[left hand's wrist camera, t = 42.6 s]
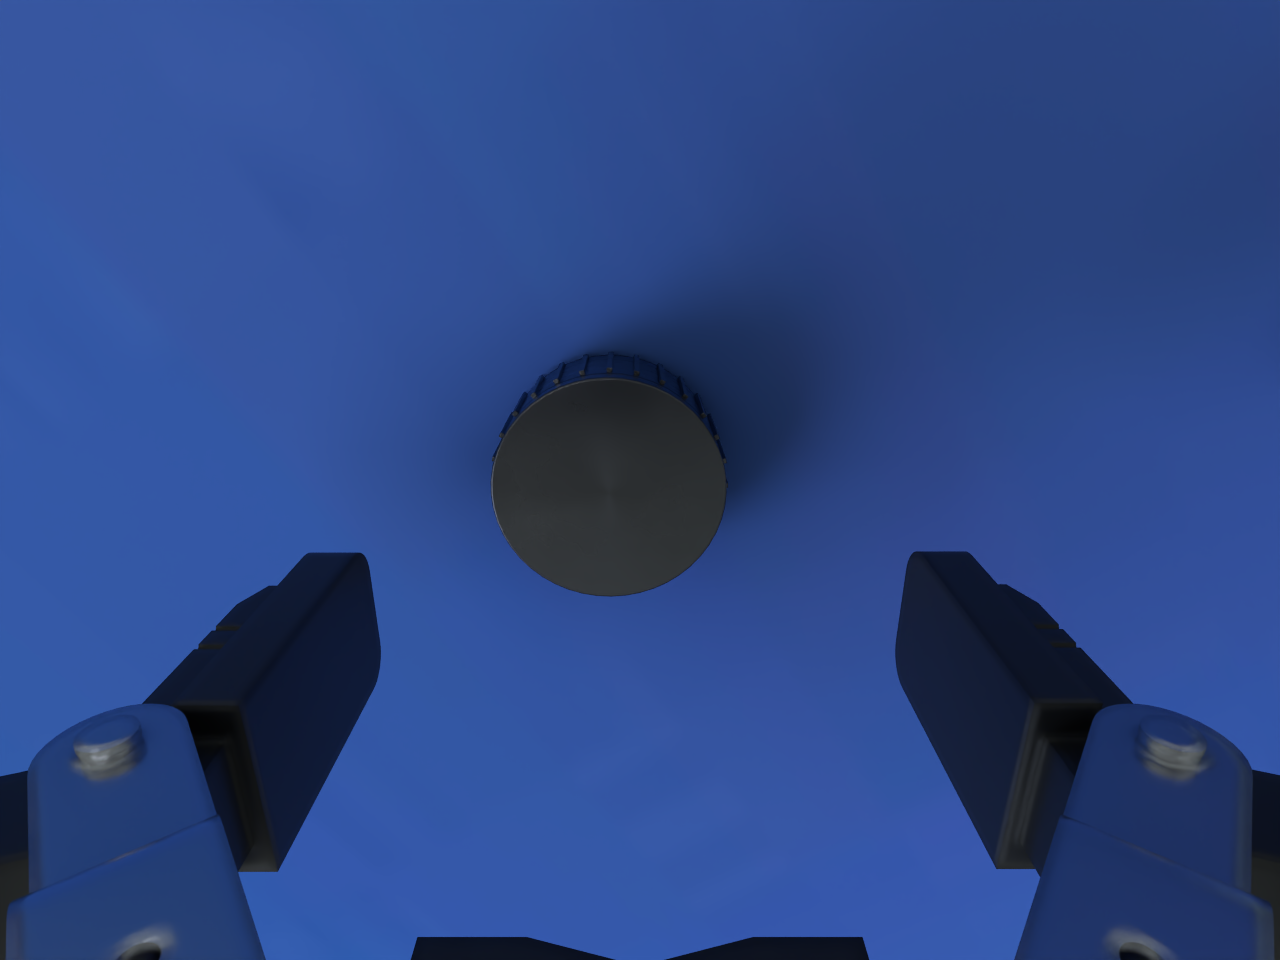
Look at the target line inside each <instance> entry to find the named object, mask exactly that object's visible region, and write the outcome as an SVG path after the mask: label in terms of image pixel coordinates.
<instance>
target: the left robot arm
mask: <svg viewBox="0 0 1280 960" xmlns="http://www.w3.org/2000/svg"><path fill="white" fill-rule="evenodd" d="M895 657H896V667H897V673H898V677H899V680H900V683H901V686H902V688H903V690H904V692H905V694H906V696H907V697H908V699H909V701H910V703H911V705H912V707H913V709H914V711H915V713H916V715H917V717H918V719H919V721H920V723H921V724H922V726H923V728H924V730H925V732H926V734H927V736H928V738H929V740H930V742H931V744H932V746H933V748H934V750H935V751H936V753H937V755H938V757H939V759H940V761H941V763H942V765H943V767H944V769H945V771H946V773H947V775H948V777H949V778H950V780H951V782H952V784H953V786H954V788H955V790H956V792H957V794H958V796H959V798H960V800H961V802H962V803H963V805H964V807H965V809H966V811H967V813H968V815H969V817H970V819H971V821H972V823H973V825H974V827H975V829H976V830H977V832H978V834H979V836H980V838H981V840H982V842H983V844H984V846H985V848H986V850H987V852H988V854H989V856H990V857H991V859H992V861H993V863H994V865H995V867H996V869H1036V871H1037V872H1038V874H1039V876H1040V880H1039V884H1038V887H1037V890H1036V893H1035V896H1034V899H1033V903H1032V906H1031V909H1030V912H1029V915H1028V918H1027V921H1026V925H1025V928H1024V931H1023V934H1022V937H1021V940H1020V943H1019V947H1018V950H1017V953H1016V956H1015V959H1014V960H1280V775H1275V774H1271V773H1266V772H1261V771H1256V770H1252V769H1251V766H1250V764H1249V762H1248V760H1247V759H1246V758H1245V756H1244V755H1243V753H1242V752H1241V751H1240V750H1239V749H1238V748H1237V747H1236V746H1235V745H1234V744H1233V743H1231V742H1230V741H1229V740H1228V739H1226V738H1225V737H1224V736H1222V735H1221V734H1219V733H1218V732H1216V731H1215V730H1213V729H1212V728H1210V727H1208V726H1206V725H1204V724H1202V723H1201V722H1198V721H1196V720H1194V719H1192V718H1190V717H1187V716H1185V715H1182V714H1179V713H1176V712H1173V711H1170V710H1167V709H1163V708H1159V707H1154V706H1149V705H1141V704H1133V703H1132V702H1131V701H1130V700H1129V699H1128V697H1127V696H1126V695H1125V694H1124V693H1123V692H1122V691H1121V690H1120V689H1119V688H1118V687H1117V686H1116V685H1115V684H1114V683H1113V682H1112V681H1111V679H1110V678H1109V677H1108V676H1107V675H1106V674H1105V673H1104V672H1103V671H1102V670H1101V669H1100V668H1099V667H1098V666H1097V665H1096V664H1095V663H1094V662H1093V660H1092V659H1091V658H1090V657H1089V656H1088V655H1087V654H1086V653H1085V652H1084V651H1083V650H1082V649H1081V648H1076V642H1075V641H1074V640H1073V639H1072V638H1071V637H1070V636H1069V635H1068V634H1067V633H1066V632H1065V631H1064V630H1063V629H1059V625H1058V623H1057V622H1056V621H1055V620H1054V619H1053V618H1052V617H1051V616H1050V615H1049V614H1048V613H1047V612H1046V611H1045V610H1044V609H1043V608H1042V607H1041V605H1040V604H1039V603H1037V602H1036V601H1034V600H1032V599H1030V598H1029V597H1027V596H1025V595H1023V594H1022V593H1020V592H1018V591H1017V590H1015V589H1013V588H1011V587H1010V586H1008V585H1006V584H997V583H996V582H995V581H994V580H993V579H992V578H991V576H990V575H989V574H988V573H987V572H986V571H985V570H984V568H983V567H982V566H981V565H980V564H979V563H978V562H977V561H976V559H975V558H974V557H973V556H972V555H971V554H970V553H968V552H914V553H913V554H912V555H911V556H910V558H909V560H908V564H907V569H906V575H905V582H904V589H903V596H902V603H901V610H900V617H899V624H898V631H897V638H896V647H895ZM380 660H381V646H380V638H379V631H378V625H377V618H376V611H375V604H374V597H373V590H372V583H371V577H370V570H369V565H368V562H367V560H366V558H365V556H364V555H363V554H362V553H308V554H306V555H305V556H304V557H303V558H302V559H301V560H300V561H299V562H298V563H297V564H296V566H295V567H294V568H293V569H292V570H291V571H290V572H289V573H288V575H287V576H286V577H285V578H284V579H283V580H282V581H281V582H280V583H279V585H278V586H268V587H266V588H264V589H263V590H261V591H259V592H257V593H256V594H254V595H252V596H251V597H249V598H247V599H245V600H244V601H242V602H240V603H238V604H237V605H236V606H235V607H234V608H233V609H232V610H231V611H230V612H229V613H228V614H227V615H226V616H225V617H224V618H223V619H222V621H221V622H220V623H219V624H218V625H217V626H216V631H211V632H210V633H209V634H208V635H207V636H206V637H205V638H204V639H203V640H202V641H201V643H200V644H199V648H198V649H194V650H193V651H192V652H191V653H190V654H189V655H188V656H187V657H186V658H185V659H184V660H183V661H182V662H181V663H180V665H179V666H178V667H177V668H176V669H175V670H174V671H173V672H172V673H171V674H170V675H169V676H168V677H167V678H166V679H165V680H164V681H163V682H162V683H161V684H160V686H159V687H158V688H157V689H156V690H155V691H154V692H153V693H152V694H151V695H150V696H149V697H148V698H147V699H146V700H145V701H144V702H143V703H142V704H139V705H131V706H126V707H121V708H117V709H113V710H110V711H107V712H104V713H101V714H98V715H95V716H93V717H90V718H88V719H86V720H84V721H82V722H79V723H78V724H76V725H74V726H72V727H70V728H68V729H67V730H65V731H64V732H62V733H61V734H59V735H58V736H56V737H55V738H54V739H52V740H51V741H50V742H49V743H47V744H46V745H45V746H44V747H43V748H42V749H41V750H40V751H39V752H38V753H37V755H36V756H35V758H34V759H33V760H32V762H31V764H30V766H29V769H28V771H24V772H20V773H15V774H10V775H5V776H0V960H266V959H265V956H264V953H263V950H262V947H261V943H260V940H259V937H258V934H257V931H256V928H255V925H254V921H253V918H252V915H251V912H250V909H249V906H248V903H247V899H246V896H245V893H244V890H243V887H242V884H241V880H240V877H239V874H238V872H278V870H279V868H280V866H281V864H282V863H283V861H284V859H285V857H286V855H287V853H288V851H289V849H290V847H291V845H292V844H293V842H294V840H295V838H296V836H297V834H298V832H299V830H300V828H301V826H302V824H303V823H304V821H305V819H306V817H307V815H308V813H309V811H310V809H311V807H312V805H313V804H314V802H315V800H316V798H317V796H318V794H319V792H320V790H321V788H322V786H323V785H324V783H325V781H326V779H327V777H328V775H329V773H330V771H331V769H332V767H333V765H334V764H335V762H336V760H337V758H338V756H339V754H340V752H341V750H342V748H343V746H344V745H345V743H346V741H347V739H348V737H349V735H350V733H351V731H352V729H353V727H354V725H355V724H356V722H357V720H358V718H359V716H360V714H361V712H362V710H363V708H364V706H365V705H366V703H367V701H368V699H369V697H370V695H371V693H372V691H373V689H374V687H375V685H376V682H377V678H378V674H379V669H380ZM411 960H614V959H610V958H606V957H602V956H598V955H594V954H591V953H587V952H583V951H579V950H575V949H571V948H567V947H563V946H559V945H555V944H552V943H548V942H544V941H540V940H536V939H532V938H528V937H417V941H416V944H415V947H414V951H413V954H412V958H411ZM666 960H869V958H868V954H867V951H866V947H865V944H864V941H863V937H752V938H748V939H744V940H740V941H736V942H732V943H728V944H724V945H721V946H717V947H713V948H709V949H705V950H701V951H697V952H693V953H689V954H686V955H682V956H678V957H674V958H670V959H666Z"/></svg>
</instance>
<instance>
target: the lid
mask: <svg viewBox="0 0 1280 960" xmlns="http://www.w3.org/2000/svg"><path fill="white" fill-rule="evenodd" d="M499 437H501V438H502V439H501V441H500V443H499V445H498V447H497V449H496V451H495V453H494V455H493V457H492V461H494V463H493V467H492V475H491V497H492V503H493V509H494V512H495V516H496V519H497V522H498V524H499V527H500V529H501V531H502V533H503V535H504V537H505V538H506V540H507V542H508V543H509V545H510V546H511V548H512V549H513V550H514V551H515V553H516V554H517V555H518V556H519V557H520V559H521V560H523V561H524V562H525V563H526V564H527V565H528V566H529V567H530V568H531V569H532V570H534V571H535V572H537V573H538V574H539V575H541V576H542V577H544V578H545V579H547V580H549V581H551V582H553V583H554V584H557V585H559V586H561V587H564V588H566V589H569V590H572V591H576V592H579V593H583V594H589V595H595V596H624V595H631V594H636V593H641V592H644V591H647V590H650V589H654V588H656V587H658V586H660V585H663V584H665V583H667V582H669V581H670V580H672V579H674V578H675V577H677V576H679V575H680V574H681V573H683V572H684V571H685V570H687V569H688V568H689V567H690V566H691V565H692V564H693V563H694V562H695V561H696V560H697V559H698V558H699V557H700V556H701V555H702V554H703V552H704V551H705V550H706V548H707V547H708V546H709V544H710V543H711V541H712V539H713V537H714V536H715V534H716V532H717V530H718V527H719V525H720V522H721V520H722V516H723V512H724V508H725V502H726V493H727V488H728V482H727V479H726V473H725V467H724V463H727V462H726V458H725V455H724V452H723V449H722V446H721V443H720V441H719V439H720V438H719V435H718V433H717V430H716V427H715V424H714V421H713V419H712V416H711V414H708V415H707V414H706V412H705V410H704V407H703V404H702V401H701V398H700V396H699V395H698V393H697V394H696V395H694V394H693V393H692V392H691V390H690V389H689V388H688V387H687V386H686V385H685V383H684V379H683V378H682V377H681V376H679V378H677V377H675V376H674V375H672V374H671V373H669V372H668V371H666V370H665V369H663V365H662V364H660V363H658V365H655V364H652V363H650V362H647V361H644V360H641V359H639V356H638V355H634V358H632V357H627V356H617V355H614V352H609V354H608V355H603V356H593V357H589V356H588V354H587V355H583V359H579V360H577V361H574V362H571V363H568V364H566V365H565V363H564V362H563V363H560V364H559V367H558V369H556V370H554V371H553V372H551V373H550V374H548V375H547V376H545V377H544V376H543V375H541V376H540V377H539V378H538V380H537V382H536V384H535V386H534V387H533V388H532V389H531V390H530V392H529V393H528V394H527V393H526V392H524V393H523V394H522V396H521V398H520V400H519V402H518V404H517V405H516V407H515V409H514V411H513V412H511V414H510V416H509V418H508V420H507V422H506V424H505V425H504V427H503V429H502V431H501V433H500V435H499Z"/></svg>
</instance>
